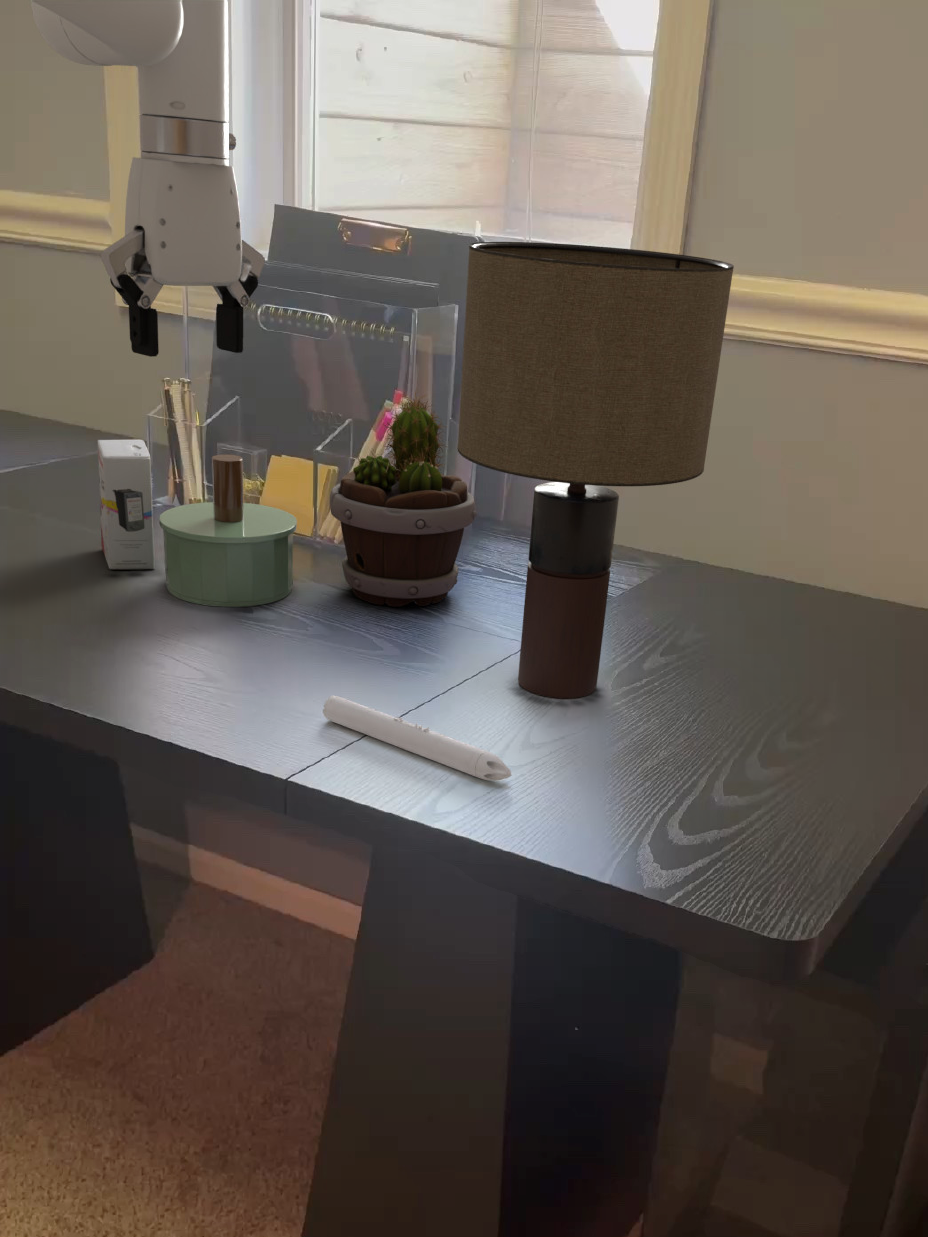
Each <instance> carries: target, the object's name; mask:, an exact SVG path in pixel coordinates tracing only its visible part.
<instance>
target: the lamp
mask: <svg viewBox="0 0 928 1237" xmlns="http://www.w3.org/2000/svg"><path fill="white" fill-rule="evenodd" d="M467 262H468V263H467V264H468V265H467V280H466V282H467V283H466V295H465V296H466V298H465V314H464V315H465V316H464V334H463V351H462V369H461V382H460V383H461V384H460V399H459V400H460V402H459V418H458V419H459V420H458V437H457V452H458V453H459V454H460V456H461V457H463V458H464V459H466V460H467V461H469V462H471V463H473V464H475V465H478V466H480V467H482V468H483V467H484V468H486V469H489V470H493V471H497V472H500V473H504V474H508V475H513V476H517V477H522V478H528V479H533V480H540V481H547V482H544V483H541V484H538V485H536V486H535V487H534V489H533V500H532V502H533V503H532V513H531V524H530V535H529V536H530V537H529V549H528V562H527V568H526V569H527V570H526V580H525V593H524V604H523V616H522V626H521V627H522V628H521V640H520V650H519V663H518V676H517V680H518V684H519V685H520V686H521V688H523V689H524V690H526V691H528V692H530V693H532V694H535V695H538V696H543V697H546V698H553V699H577V698H582V697H586V696H588V695H591V694H592V693H594V692H595V691H596V689H597V685H598V680H599V672H600V671H599V670H600V661H601V652H602V645H603V636H604V628H605V627H604V626H605V621H606V620H605V619H606V613H607V612H606V611H607V602H608V594H609V588H610V587H609V586H610V579H611V578H610V577H611V567H612V560H613V550H614V542H615V533H616V525H617V518H618V517H617V516H618V508H619V500H620V495H619V493H618V492H616V491H615V490H613V489H610V488H607V487H652V486H665V485H672V484H679V483H683V482H687V481H690V480H694V479H696V478H698V477H700V476H701V475H703V473H704V471H705V463H706V456H707V450H708V443H709V436H710V435H709V434H710V429H711V423H712V417H713V411H714V410H713V409H714V404H715V403H714V402H715V396H716V389H717V382H718V375H719V368H720V363H721V362H720V361H721V354H722V349H723V341H724V335H725V329H726V321H727V314H728V307H729V301H730V295H731V294H730V293H731V286H732V279H733V273H734V268H735V266H734V264H732V263H729V262H726V261H723V260H717V259H711V258H707V257H701V256H692V255H685V254H679V253H669V252H662V251H653V250H652V251H651V250H642V249H633V248H624V247H622V248H621V247H613V246H611V247H610V246H597V245H584V244H570V243H554V242H553V243H552V242H529V241H481V242H480V241H479V242H474V243H469V245H468V261H467Z"/></svg>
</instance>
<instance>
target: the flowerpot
mask: <svg viewBox="0 0 928 1237" xmlns="http://www.w3.org/2000/svg"><path fill="white" fill-rule="evenodd" d="M417 390H418V388H417V387H416V388H415V392H414V398H412V399H411V398H410V397H409V396H405V395H404V397H403V400H406V401H405V403H403V402H401V407H399V409H400V413H397V409H395V414H393V413H392V412H391V413H390V415H391V417H390V420H392V421H391V422H389V421H387V425H388V426H387V425H385V424H384V423H382V425H383V426H384V427H386V428H387V431H386V435H387V436H389V437H387V439H386V441H387V443H386V444H387V445H384V447H385V448H387V451H389V452H387V454H388V455H389V456H388V457H383V453H384V450H382V451H383V452H382V453H381V454H380V455H379V453H377V455H376V450H375V449H372V451H368V452H367V453H366V457H361V456H360V452H358V453H357V460H358V465H357V466H355V467H354V468H353V469H352V471H350V472H348V473H346V474H345V475H344V476H342V477H341V479H340V483H337V484H336V485H334V486H333V487H332V488H331V490H330V493H329V508H330V514H331V515H332V517H334V518H335V519H336V520H337V521H339V522H340V527H341V534H342V538H343V543H344V549H345V552H346V556H345V557H344V558H343V559H342V561H341V567H342V572H343V576H344V579H345V582H346V584H347V585H348V586H350V587H351V591H352V592H353V593H354V594H353V595H354V596H355V597H356V598H358V599H360V600H362V601H364V602H367V603H371V604H373V605H379V606H380V605H381V606H382V605H384V604H386V605H387V606H389V607H393V608H394V607H395V608H396V607H397V608H398V607H403V606H406V605H409V604H410V603H412V602H414V603H415V605H417V606H419V607H426V606H428V605H430V604H437V603H440V602H441V601H443V600H444V599H445V598H446V597H447V596H448V594H449V592H450V591H451V590H452V589H453V588H454V587H455V585H456V584H458V576H459V566H458V565H457V563H456V560H457V558H458V554H459V551H460V547H461V544H462V540H463V536H464V532H465V531H464V530H465V528H467V527H469V526H471V524H473V522H474V520H475V518H476V517H477V516H478V513H477V511H476V502H475V501H476V500H475V498H474V496H473V495H472V494H471V492H468V485H467V483H466V482H465V481H463V480H462V478H460V477H459V476H457V475H453V474H448V475H445V474H443V473H442V472H440V471H442V470H441V468H444V469H445V467H444V466H446V465H445V464H444V463H441V460H439V461H438V459H442V458H444V455H443V456H440V455H439V454H441V453H442V452H444V449H443V448H442V447H444V448H447V445H446V444H443V442H444V438H443V437H444V435H443V434H442V433H445V430H443V428H448V427H447V426H443V422H442V421H441V418H440V417H439V414H437V413H435V412H436V411H435V409H434V410H432V409H430V408H429V407H432V406H434V404H431V405H430V404H429V403H428V402H429V400H427V401H426V402H422V401H421V399H423V398H424V397H426V396H427V394H425V395H423V396H421V397H420V395H418V396H417ZM416 397H417V398H416ZM419 397H420V398H419ZM439 419H440V420H439ZM439 430H441V431H439ZM389 431H390V433H389ZM438 432H439V433H438ZM439 439H442V441H441V440H439ZM390 450H391V451H390ZM369 453H371V455H372V456H371V455H368V454H369ZM392 459H393V461H392ZM440 467H441V468H440Z"/></svg>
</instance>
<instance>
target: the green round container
mask: <svg viewBox="0 0 928 1237" xmlns="http://www.w3.org/2000/svg"><path fill="white" fill-rule="evenodd" d="M162 530H163V529H162ZM293 534H294V533H292V534H290V535H288V536H286V537H283V538H279V539H275V540H270V541H264V542H254V543H213V542H203V541H197V540H191V539H186V538H182V537H179V536H175V535H173V534H170V533H168V532H166V531H164V530H163V550H164V551H163V552H164V569H165V571H164V572H165V582H166V587H167V588H166V589H167V591H168V592H169V593H170V594H171V595H172V596H173V597H175V598H177V599H180V600H182V601H185V602H188V603H191V604H192V603H193V604H196V605H202V606H209V607H219V608H220V607H221V608H243V607H255V606H261V605H266V604H271V603H275V602H278V601H280V600H283V599H284V598H287V596H289V595H290V594H291V592H292V588H293V584H294V577H293V576H294V568H293V567H294V562H293V561H294V557H293V556H294V554H293V553H294V549H293V548H294V547H293V546H294V542H293V541H294V535H293Z"/></svg>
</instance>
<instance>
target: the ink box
mask: <svg viewBox="0 0 928 1237" xmlns="http://www.w3.org/2000/svg"><path fill="white" fill-rule="evenodd" d="M97 454H98V455H97V456H98V457H97V458H98V482H99V483H98V485H99V486H98V487H99V508H100V509H99V510H100V536H101V537H100V539H101V540H100V541H101V542H100V543H101V549H102V552H103V555H104V558H105V561H106V564H107V566H108V569H109V570H155V568H156V567H155V565H156V564H155V563H156V562H155V560H156V559H155V537H154V512H153V511H154V510H153V487H152V467H151V466H152V464H151V462H152V461H151V455H150V452H149V450H148V447H147V445H146V443H145V440H144V439H136V438H135V439H97Z"/></svg>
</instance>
